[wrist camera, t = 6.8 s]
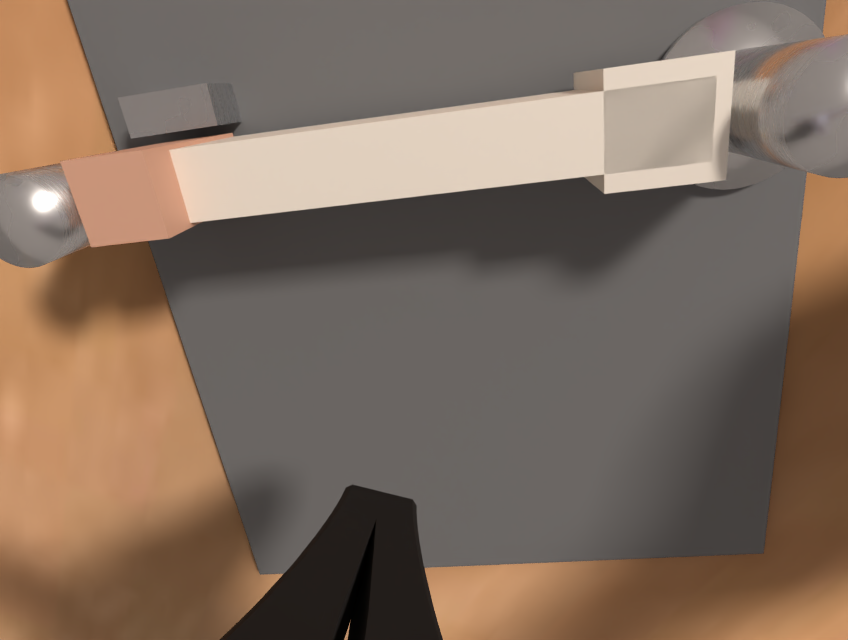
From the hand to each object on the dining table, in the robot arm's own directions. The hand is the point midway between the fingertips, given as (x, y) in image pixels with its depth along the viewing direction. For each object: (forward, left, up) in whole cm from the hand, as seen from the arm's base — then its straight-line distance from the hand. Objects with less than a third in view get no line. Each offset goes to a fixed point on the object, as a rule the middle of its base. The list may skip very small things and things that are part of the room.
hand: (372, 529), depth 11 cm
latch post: (+6, -7, -8) cm, 12 cm away
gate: (-1, -7, -7) cm, 10 cm away
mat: (-2, -1, -8) cm, 8 cm away
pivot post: (-9, -6, -8) cm, 14 cm away
